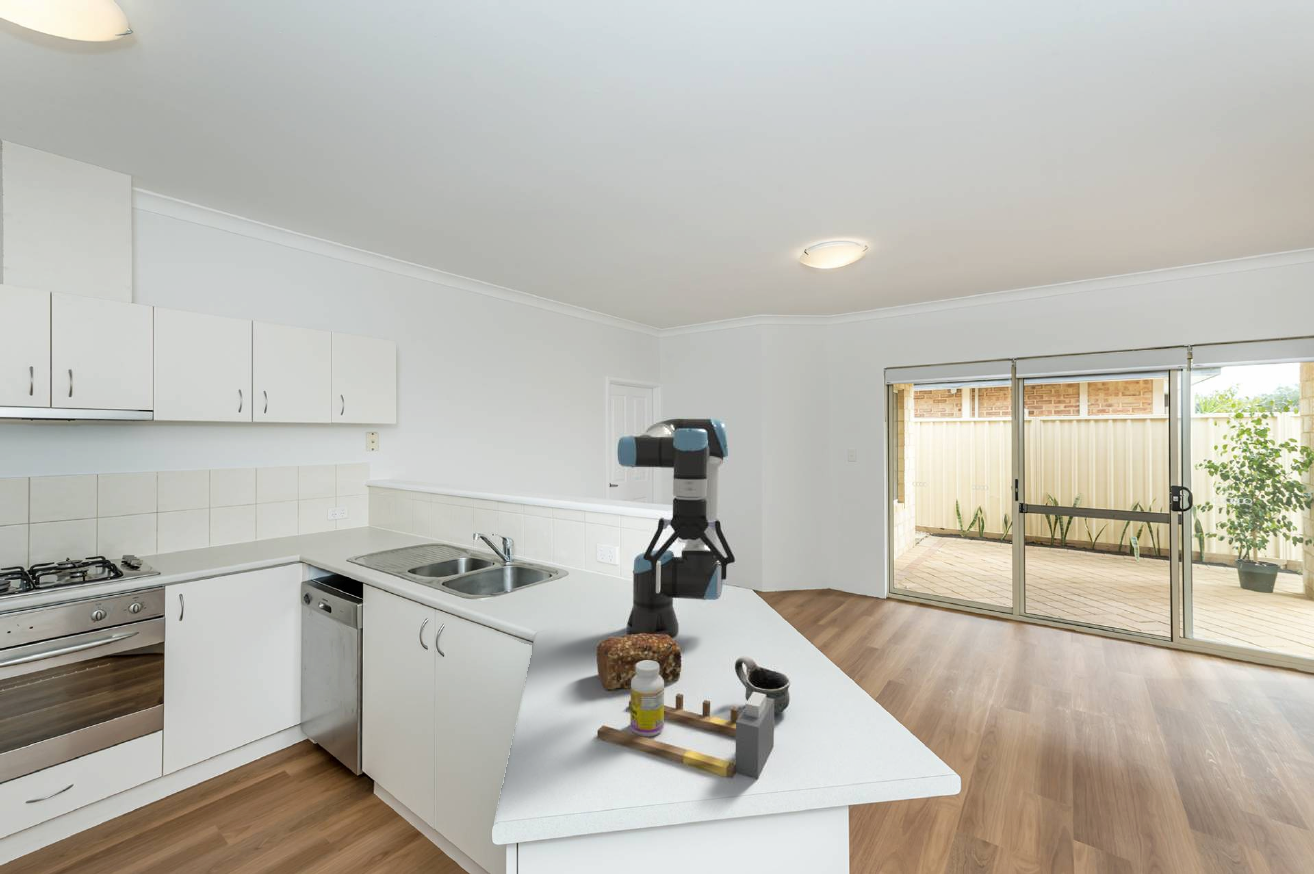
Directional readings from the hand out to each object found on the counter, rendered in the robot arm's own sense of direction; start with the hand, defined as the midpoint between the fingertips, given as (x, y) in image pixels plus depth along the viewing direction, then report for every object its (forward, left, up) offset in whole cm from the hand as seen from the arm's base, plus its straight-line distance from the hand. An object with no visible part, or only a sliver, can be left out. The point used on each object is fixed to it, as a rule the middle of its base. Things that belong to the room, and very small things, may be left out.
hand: (688, 592), depth 123 cm
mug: (+16, +2, -23) cm, 28 cm away
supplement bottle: (-2, -16, -23) cm, 28 cm away
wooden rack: (+5, -16, -23) cm, 29 cm away
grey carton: (+20, -16, -23) cm, 35 cm away
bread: (-14, +3, -23) cm, 27 cm away
